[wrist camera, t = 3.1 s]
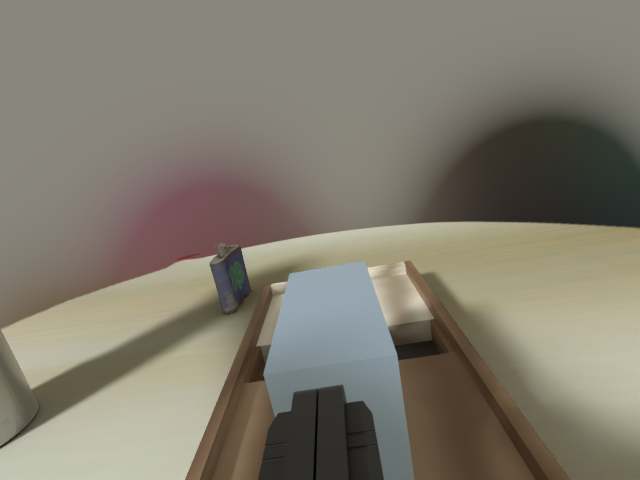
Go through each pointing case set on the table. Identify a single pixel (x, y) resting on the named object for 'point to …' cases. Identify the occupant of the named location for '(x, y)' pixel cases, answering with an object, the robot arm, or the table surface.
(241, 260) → the flask
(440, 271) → the table surface
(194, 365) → the table surface
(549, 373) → the table surface
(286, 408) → the block
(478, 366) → the board
